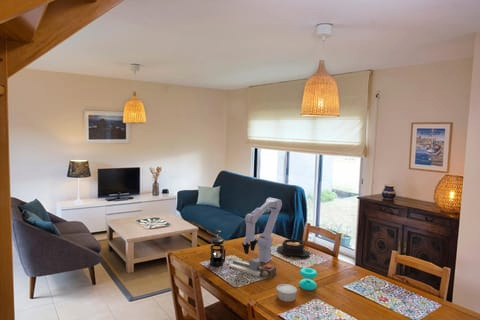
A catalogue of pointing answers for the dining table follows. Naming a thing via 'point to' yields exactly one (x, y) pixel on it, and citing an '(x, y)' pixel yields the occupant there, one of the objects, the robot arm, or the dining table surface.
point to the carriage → (254, 263)
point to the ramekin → (286, 292)
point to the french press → (217, 258)
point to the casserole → (293, 248)
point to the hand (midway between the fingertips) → (249, 252)
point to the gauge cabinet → (267, 272)
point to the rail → (244, 267)
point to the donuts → (308, 279)
